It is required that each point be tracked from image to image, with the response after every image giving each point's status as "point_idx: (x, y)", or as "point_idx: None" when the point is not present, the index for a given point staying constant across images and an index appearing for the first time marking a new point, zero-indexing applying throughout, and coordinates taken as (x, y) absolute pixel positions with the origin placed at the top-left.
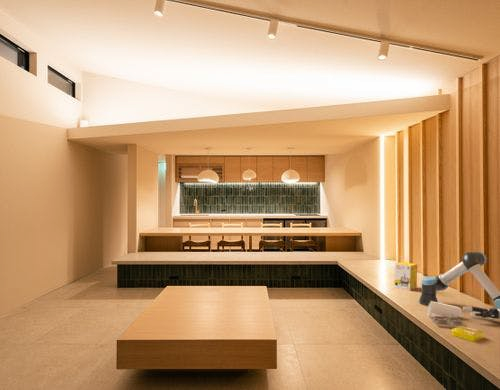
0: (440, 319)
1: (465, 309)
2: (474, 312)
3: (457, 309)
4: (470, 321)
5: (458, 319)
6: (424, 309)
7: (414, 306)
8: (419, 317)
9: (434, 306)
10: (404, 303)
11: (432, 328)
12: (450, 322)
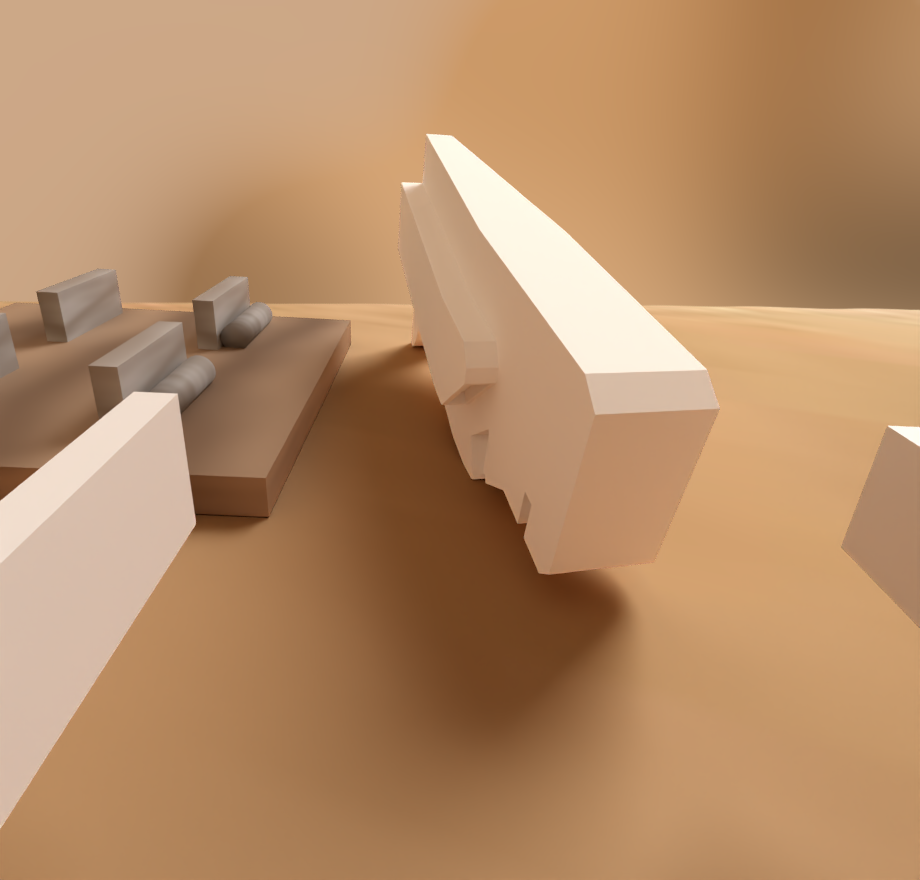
0: (85, 274)
1: (898, 563)
2: (45, 467)
3: (533, 359)
4: (249, 735)
5: (234, 464)
6: (731, 372)
7: (786, 347)
8: (360, 311)
9: (405, 208)
10: (830, 327)
11: (12, 303)
12: (81, 367)
